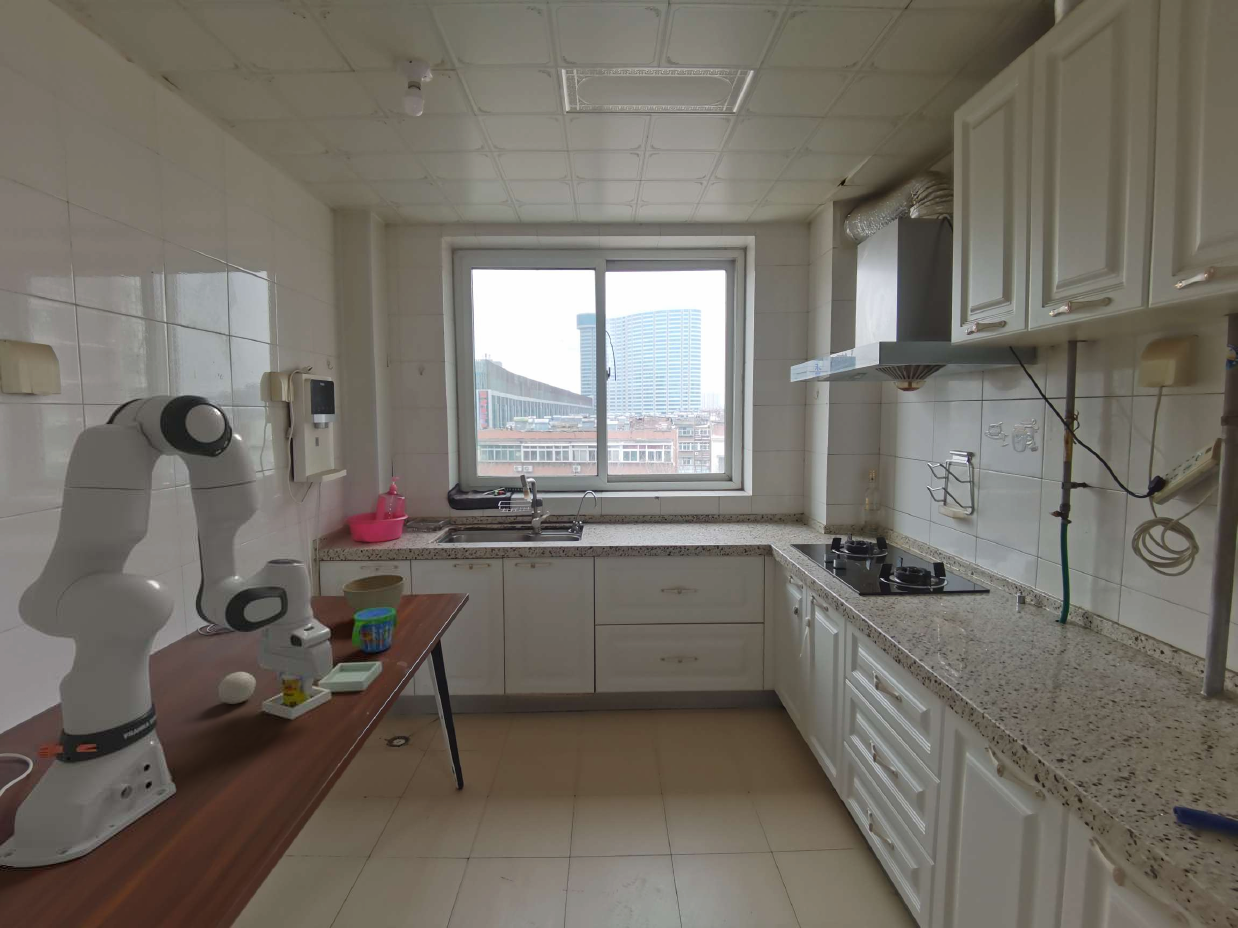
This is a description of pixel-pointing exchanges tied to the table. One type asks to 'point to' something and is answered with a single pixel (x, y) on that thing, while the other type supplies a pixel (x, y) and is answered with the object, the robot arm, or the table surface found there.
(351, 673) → the tray
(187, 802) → the table surface
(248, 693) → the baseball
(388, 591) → the flower pot
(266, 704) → the holder
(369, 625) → the snack cup
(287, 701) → the supplement bottle
